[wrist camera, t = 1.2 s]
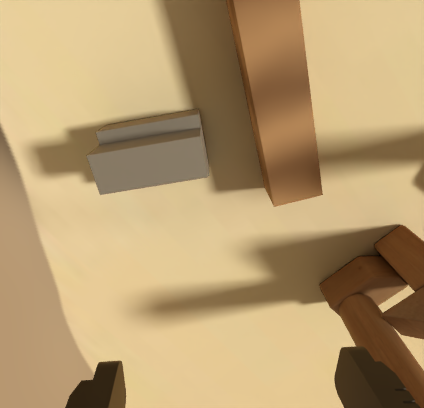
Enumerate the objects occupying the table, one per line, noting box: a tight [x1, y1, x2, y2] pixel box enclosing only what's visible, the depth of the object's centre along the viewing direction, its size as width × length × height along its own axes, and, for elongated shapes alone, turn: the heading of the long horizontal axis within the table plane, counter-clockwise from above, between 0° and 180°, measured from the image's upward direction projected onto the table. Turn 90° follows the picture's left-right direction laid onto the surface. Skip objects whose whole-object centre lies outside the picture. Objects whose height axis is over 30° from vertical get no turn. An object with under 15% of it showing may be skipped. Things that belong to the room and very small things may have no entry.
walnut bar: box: [226, 0, 323, 207], centre depth 23 cm, size 18×4×4 cm, turn 14°
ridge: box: [87, 109, 209, 195], centre depth 24 cm, size 5×8×6 cm, turn 99°
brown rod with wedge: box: [320, 225, 424, 408], centre depth 25 cm, size 4×11×18 cm, turn 136°
